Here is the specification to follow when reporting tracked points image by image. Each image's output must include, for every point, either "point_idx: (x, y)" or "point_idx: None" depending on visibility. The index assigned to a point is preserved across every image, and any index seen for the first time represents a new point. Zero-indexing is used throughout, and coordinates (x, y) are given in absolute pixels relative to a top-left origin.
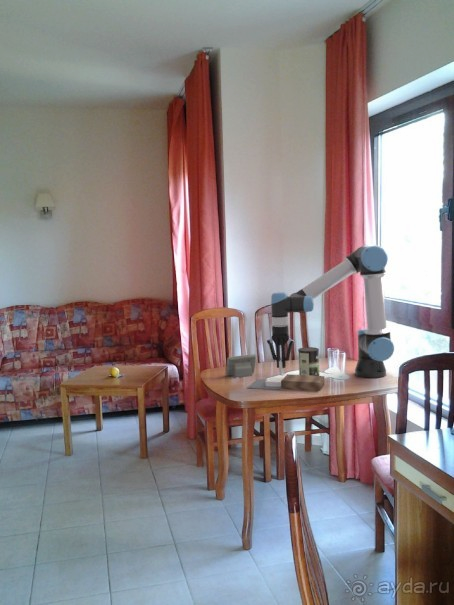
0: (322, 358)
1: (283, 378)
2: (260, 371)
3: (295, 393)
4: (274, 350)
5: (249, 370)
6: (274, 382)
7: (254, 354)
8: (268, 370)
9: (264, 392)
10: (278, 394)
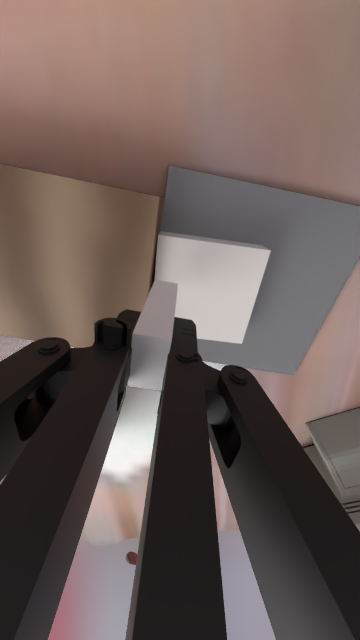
0: (86, 542)
1: (148, 263)
2: None
3: (48, 67)
4: (251, 549)
5: (329, 441)
6: (210, 241)
7: None
8: None
9: (279, 93)
10: (171, 20)
